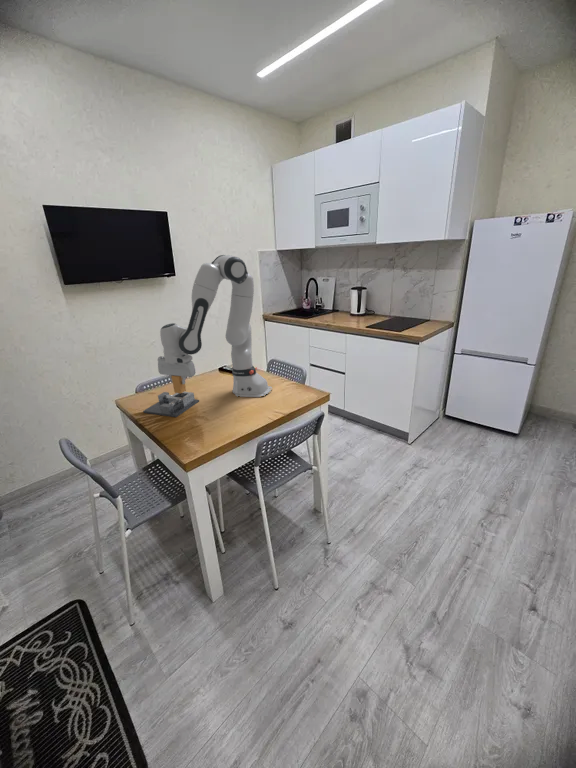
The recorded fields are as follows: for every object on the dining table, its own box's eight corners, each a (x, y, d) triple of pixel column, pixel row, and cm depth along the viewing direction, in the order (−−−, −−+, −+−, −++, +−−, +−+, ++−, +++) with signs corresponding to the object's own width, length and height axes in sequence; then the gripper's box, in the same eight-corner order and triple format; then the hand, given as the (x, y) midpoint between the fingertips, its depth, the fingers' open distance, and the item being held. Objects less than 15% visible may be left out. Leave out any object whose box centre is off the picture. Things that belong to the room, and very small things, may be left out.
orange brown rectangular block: (186, 390, 163) (183, 374, 160) (181, 393, 160) (178, 376, 156) (179, 389, 164) (176, 373, 161) (174, 392, 161) (171, 376, 158)
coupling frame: (199, 401, 168) (197, 391, 166) (176, 417, 151) (174, 406, 149) (168, 397, 175) (166, 388, 173) (143, 412, 158) (141, 402, 156)
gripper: (152, 357, 156) (158, 383, 161) (187, 360, 149) (191, 387, 154) (161, 354, 162) (166, 379, 167) (195, 356, 155) (199, 382, 160)
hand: (178, 383), depth 160 cm, fingers closed on orange brown rectangular block, 4 cm apart
